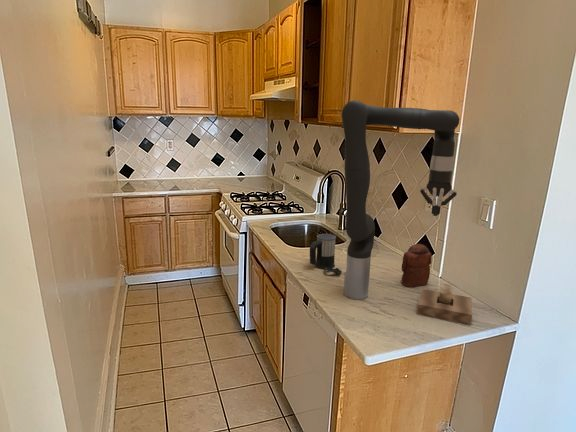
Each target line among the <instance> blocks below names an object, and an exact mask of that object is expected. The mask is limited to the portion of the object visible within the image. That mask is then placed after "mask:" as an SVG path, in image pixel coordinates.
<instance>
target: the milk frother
mask: <svg viewBox="0 0 576 432" xmlns="http://www.w3.org/2000/svg"><path fill="white" fill-rule="evenodd" d="M336 238H337V236H336V235H334V234H332V233H321V234H317V235H316V240H314V241H313V242H311V244H310V245H309V263H310V264H311V265H312V266H316V267H317V268H318V269H322V270H326V271H329V272H332V273H334V274H336V275H339V274H342V270H341V269H340V268H339V267H336V268H335V255H336V253H335V252H336Z"/></svg>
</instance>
